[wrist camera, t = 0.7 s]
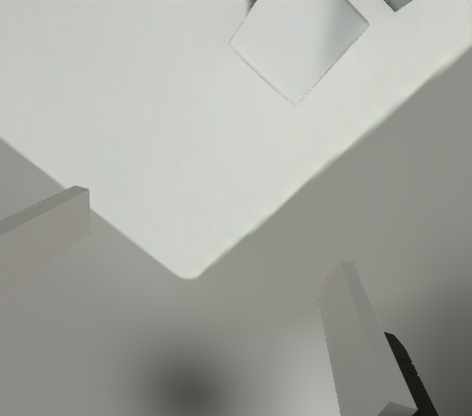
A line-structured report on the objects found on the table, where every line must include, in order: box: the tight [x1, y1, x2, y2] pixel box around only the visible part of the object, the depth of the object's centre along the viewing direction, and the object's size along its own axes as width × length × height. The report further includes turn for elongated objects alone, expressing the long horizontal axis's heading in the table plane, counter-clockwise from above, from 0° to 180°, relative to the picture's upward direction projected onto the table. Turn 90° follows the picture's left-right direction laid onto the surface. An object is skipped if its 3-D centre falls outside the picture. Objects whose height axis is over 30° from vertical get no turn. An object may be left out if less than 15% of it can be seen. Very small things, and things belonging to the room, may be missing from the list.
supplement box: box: [229, 0, 369, 107], centre depth 24 cm, size 7×7×13 cm
